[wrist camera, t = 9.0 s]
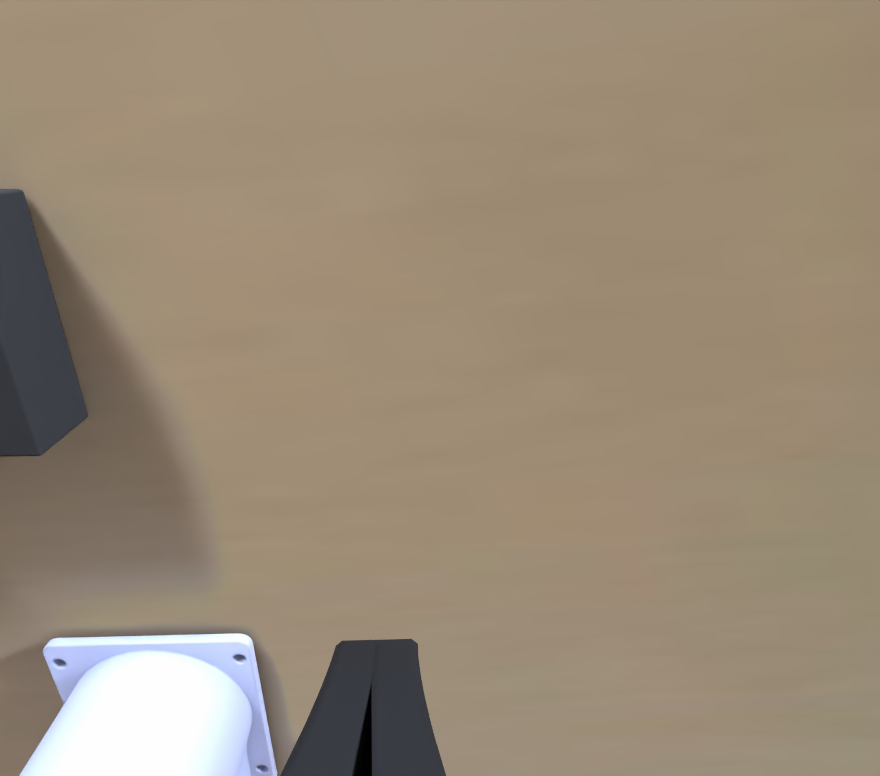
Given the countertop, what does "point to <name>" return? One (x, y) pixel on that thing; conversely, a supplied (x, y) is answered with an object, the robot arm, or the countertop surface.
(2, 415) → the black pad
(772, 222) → the countertop surface
